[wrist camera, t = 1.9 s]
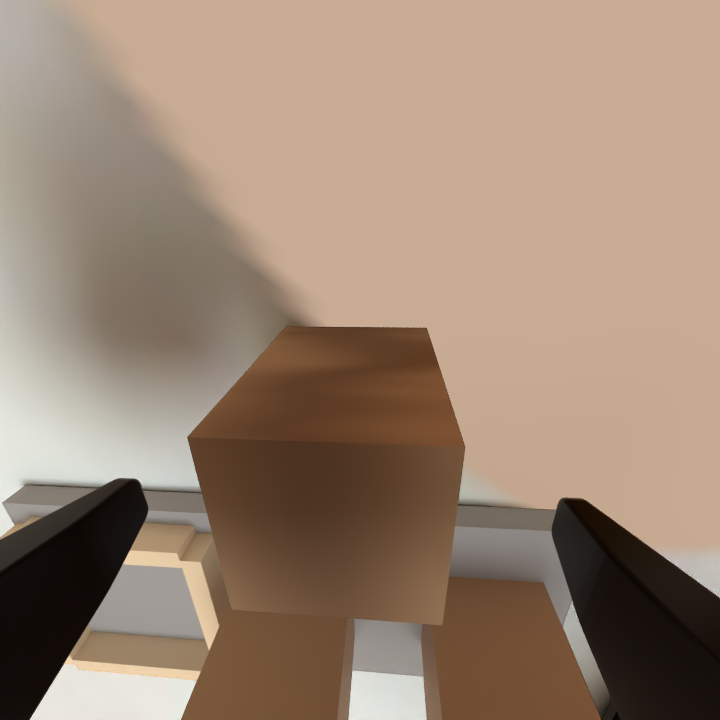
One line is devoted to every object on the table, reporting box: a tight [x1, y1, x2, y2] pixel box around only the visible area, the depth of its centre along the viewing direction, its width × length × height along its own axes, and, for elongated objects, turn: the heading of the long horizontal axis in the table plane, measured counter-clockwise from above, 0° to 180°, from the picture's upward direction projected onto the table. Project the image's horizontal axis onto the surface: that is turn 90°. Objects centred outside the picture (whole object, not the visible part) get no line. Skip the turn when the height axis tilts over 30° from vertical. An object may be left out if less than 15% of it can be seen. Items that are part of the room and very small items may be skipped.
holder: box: [0, 485, 601, 720], centre depth 13 cm, size 23×10×7 cm, turn 91°
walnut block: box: [187, 327, 465, 625], centre depth 9 cm, size 4×4×6 cm
